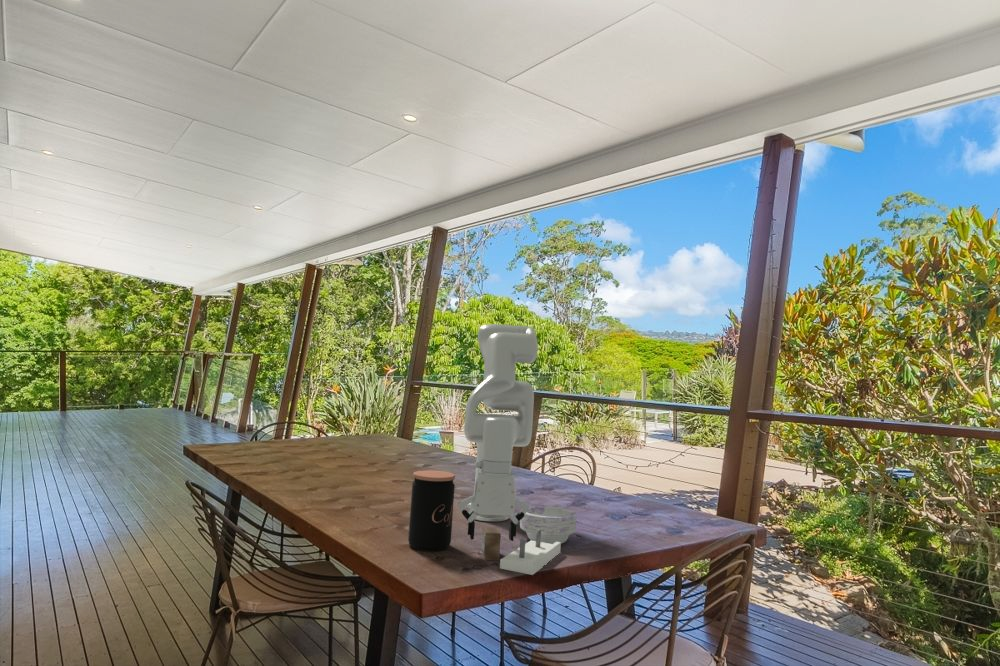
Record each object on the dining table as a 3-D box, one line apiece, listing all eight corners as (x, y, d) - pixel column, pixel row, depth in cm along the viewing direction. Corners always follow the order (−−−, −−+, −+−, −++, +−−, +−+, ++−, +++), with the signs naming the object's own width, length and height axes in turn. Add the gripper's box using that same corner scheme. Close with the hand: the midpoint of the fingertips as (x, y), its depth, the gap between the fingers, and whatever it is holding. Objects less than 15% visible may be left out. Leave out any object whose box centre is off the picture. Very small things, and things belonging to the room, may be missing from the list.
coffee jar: (432, 555, 149) (438, 479, 150) (398, 546, 154) (404, 472, 155) (458, 546, 158) (463, 474, 159) (425, 537, 163) (430, 468, 164)
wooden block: (483, 559, 148) (485, 534, 148) (481, 551, 155) (482, 526, 155) (499, 560, 148) (501, 534, 149) (496, 551, 155) (498, 527, 155)
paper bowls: (533, 530, 179) (534, 502, 179) (583, 539, 172) (584, 510, 172) (509, 541, 166) (511, 511, 166) (562, 552, 158) (564, 520, 159)
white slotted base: (499, 568, 142) (501, 541, 142) (530, 548, 160) (532, 524, 160) (532, 575, 138) (534, 547, 139) (560, 553, 157) (561, 529, 157)
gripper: (461, 468, 148) (456, 541, 146) (533, 471, 150) (528, 544, 148) (460, 463, 155) (455, 533, 154) (528, 467, 157) (524, 536, 156)
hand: (491, 538), depth 151 cm, fingers open, 9 cm apart
